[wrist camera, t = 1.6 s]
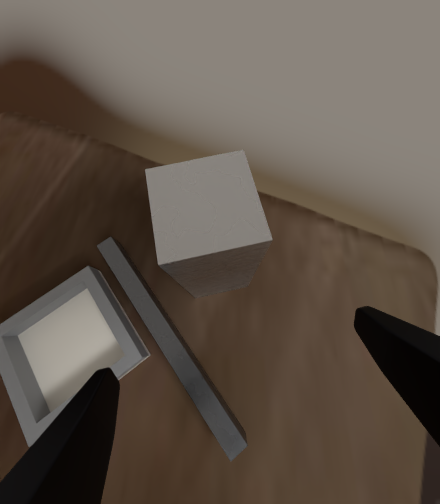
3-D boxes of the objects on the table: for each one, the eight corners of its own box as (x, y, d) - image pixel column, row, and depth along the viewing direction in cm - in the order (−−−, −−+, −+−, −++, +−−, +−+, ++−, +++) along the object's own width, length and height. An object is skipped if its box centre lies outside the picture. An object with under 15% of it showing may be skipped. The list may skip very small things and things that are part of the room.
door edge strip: (245, 432, 17) (247, 445, 15) (230, 446, 17) (230, 461, 15) (120, 243, 23) (110, 236, 21) (107, 252, 22) (96, 245, 20)
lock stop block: (247, 286, 21) (272, 239, 10) (195, 298, 21) (158, 265, 9) (235, 238, 22) (243, 149, 11) (186, 249, 22) (145, 169, 11)
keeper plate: (150, 354, 19) (142, 357, 17) (50, 434, 18) (28, 446, 16) (100, 270, 22) (88, 265, 20) (8, 333, 20) (-15, 334, 18)
